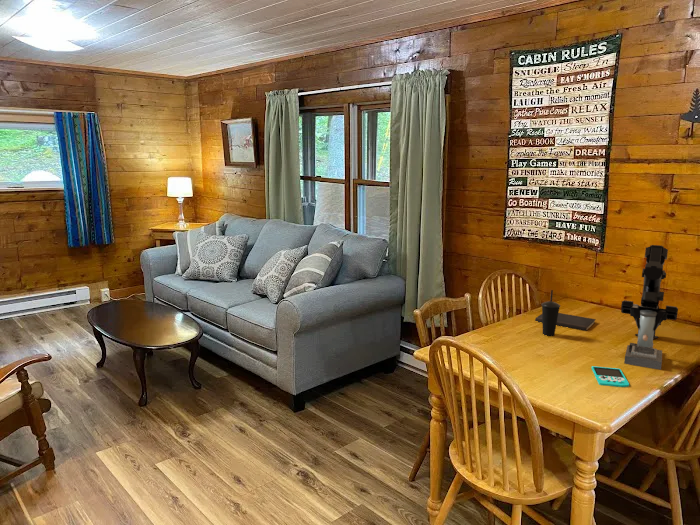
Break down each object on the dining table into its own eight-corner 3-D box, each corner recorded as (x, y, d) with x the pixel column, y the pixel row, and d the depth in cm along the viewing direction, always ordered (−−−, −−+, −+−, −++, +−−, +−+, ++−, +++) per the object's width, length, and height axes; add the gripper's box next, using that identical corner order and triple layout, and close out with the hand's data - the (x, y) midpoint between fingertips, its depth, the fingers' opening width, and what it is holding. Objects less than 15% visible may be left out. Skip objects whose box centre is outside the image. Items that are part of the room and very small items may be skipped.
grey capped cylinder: (637, 341, 207) (640, 309, 205) (653, 344, 205) (656, 311, 202) (635, 348, 200) (639, 314, 198) (652, 350, 198) (656, 316, 195)
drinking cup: (538, 336, 234) (542, 291, 230) (539, 330, 240) (543, 287, 237) (557, 338, 231) (561, 293, 227) (558, 333, 238) (561, 289, 234)
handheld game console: (598, 386, 184) (598, 382, 183) (590, 368, 199) (590, 365, 199) (630, 389, 181) (630, 385, 181) (619, 371, 196) (620, 368, 196)
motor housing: (627, 347, 220) (629, 334, 219) (661, 353, 214) (663, 339, 213) (624, 363, 203) (625, 349, 202) (660, 369, 197) (662, 355, 196)
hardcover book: (545, 315, 267) (546, 310, 266) (595, 323, 253) (595, 319, 253) (534, 322, 254) (535, 318, 254) (586, 332, 241) (586, 327, 240)
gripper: (624, 280, 207) (618, 314, 200) (680, 285, 198) (677, 322, 191) (623, 295, 215) (618, 329, 208) (678, 301, 206) (674, 337, 199)
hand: (646, 329), depth 201 cm, fingers closed on grey capped cylinder, 5 cm apart
